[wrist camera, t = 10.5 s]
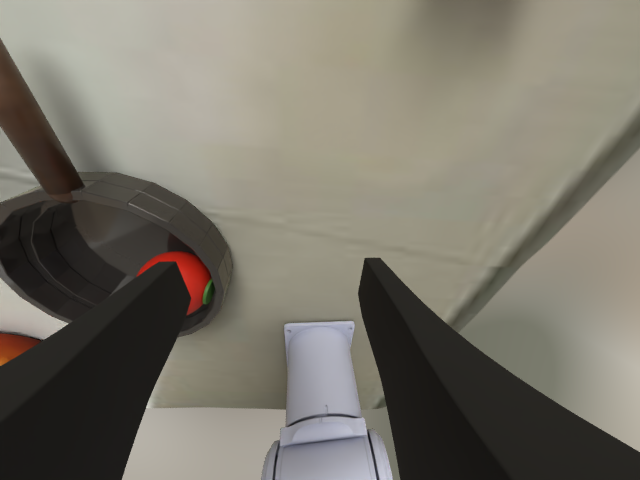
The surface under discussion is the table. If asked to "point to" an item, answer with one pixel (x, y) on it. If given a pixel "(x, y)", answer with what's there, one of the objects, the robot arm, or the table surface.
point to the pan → (103, 244)
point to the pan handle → (34, 134)
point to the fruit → (14, 346)
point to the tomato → (189, 276)
